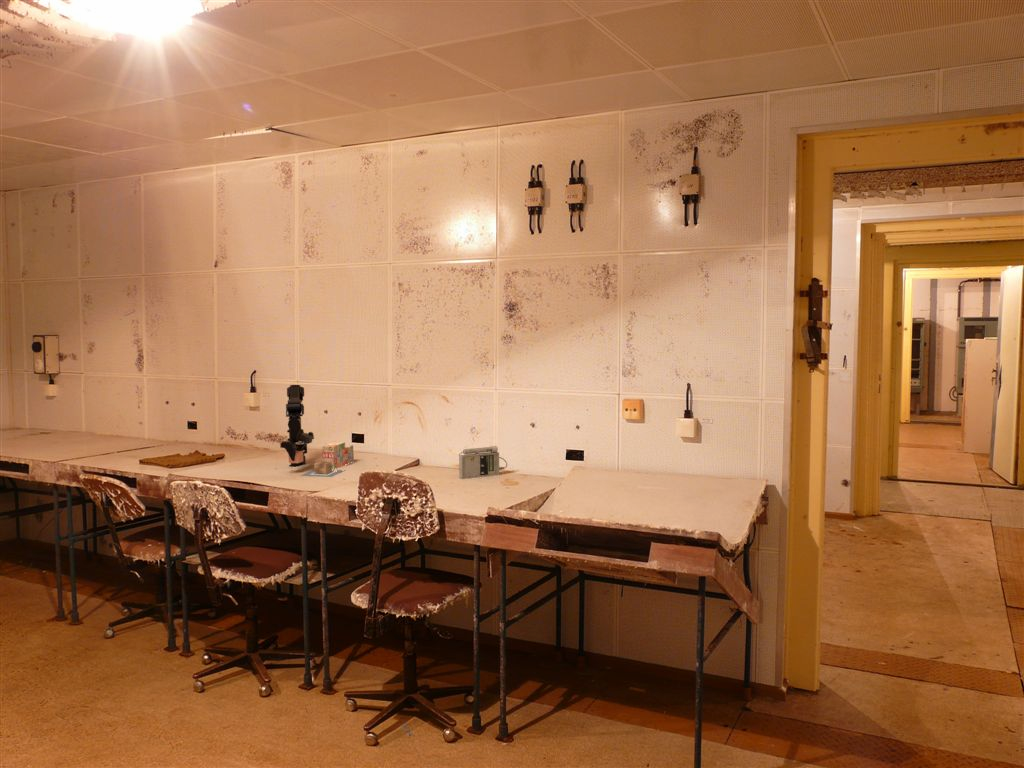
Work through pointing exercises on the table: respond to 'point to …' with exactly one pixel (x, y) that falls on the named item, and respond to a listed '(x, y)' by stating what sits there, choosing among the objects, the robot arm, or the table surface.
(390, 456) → the table surface
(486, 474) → the geiger counter
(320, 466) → the walnut base block
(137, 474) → the table surface
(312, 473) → the board
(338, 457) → the stack of blocks
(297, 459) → the terracotta cube
